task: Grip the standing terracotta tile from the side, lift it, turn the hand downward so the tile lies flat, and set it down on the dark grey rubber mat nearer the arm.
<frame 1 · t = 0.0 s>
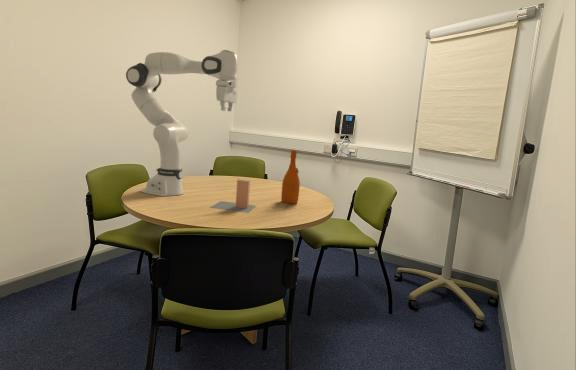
hand: (226, 111, 185), 48 cm above the table, tool pointing down, fingers open, 8 cm apart
tile: (242, 207, 180), point 1 cm above the table, touching mat
mat: (233, 207, 180), on the table
wine bottle: (289, 202, 201), on the table
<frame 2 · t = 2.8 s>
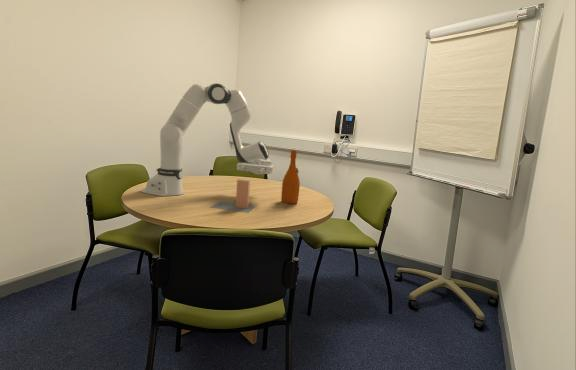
hand: (251, 169, 188), 18 cm above the table, tool horizontal, fingers open, 8 cm apart
nothing on the table moved.
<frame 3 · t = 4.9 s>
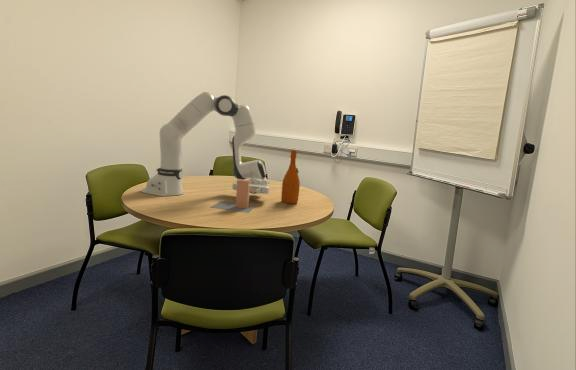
hand: (247, 190, 185), 8 cm above the table, tool horizontal, fingers open, 8 cm apart
nothing on the table moved.
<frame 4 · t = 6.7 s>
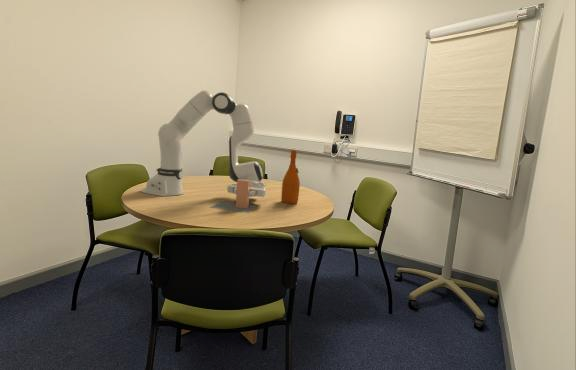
hand: (242, 193, 178), 8 cm above the table, tool horizontal, fingers closed on tile, 6 cm apart
tile: (242, 207, 180), point 1 cm above the table, touching gripper, mat
everything else where it was.
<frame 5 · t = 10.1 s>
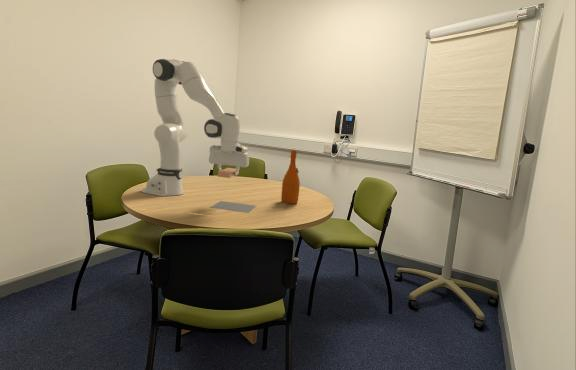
hand: (228, 174, 177), 17 cm above the table, tool pointing down, fingers closed on tile, 6 cm apart
tile: (233, 170, 185), point 18 cm above the table, tilted 90°, touching gripper
everything else where it was.
when the fingers open (3 cm above the table, at t = 12.7 s): tile drops 2 cm, resting on mat.
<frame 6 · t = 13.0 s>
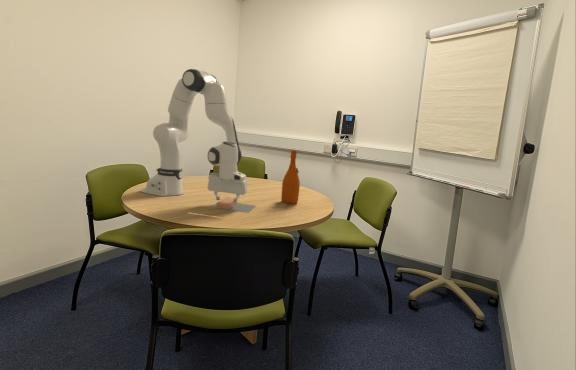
hand: (226, 201, 180), 3 cm above the table, tool pointing down, fingers open, 8 cm apart
tile: (232, 200, 188), point 2 cm above the table, tilted 90°, touching mat
everything else where it was.
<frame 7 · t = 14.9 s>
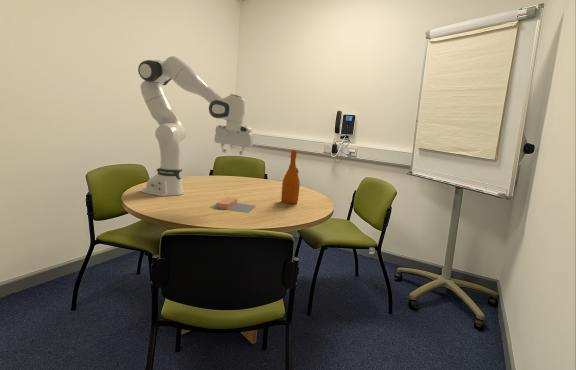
hand: (232, 153, 185), 26 cm above the table, tool pointing down, fingers open, 8 cm apart
nothing on the table moved.
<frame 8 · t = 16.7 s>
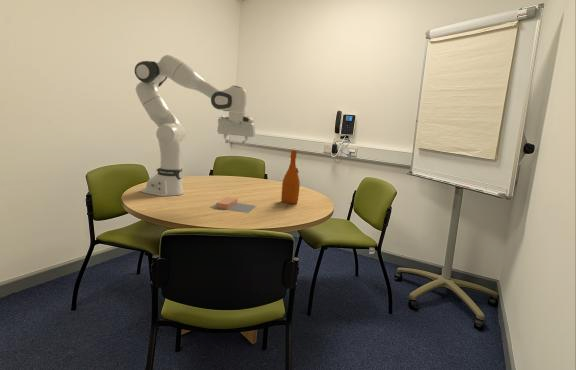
hand: (235, 143, 189), 31 cm above the table, tool pointing down, fingers open, 8 cm apart
nothing on the table moved.
at the end: tile tilted 90°; tile inside the target area on the mat (8.6 cm from its centre), point 1.8 cm above the mat's base; the gripper is holding nothing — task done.
